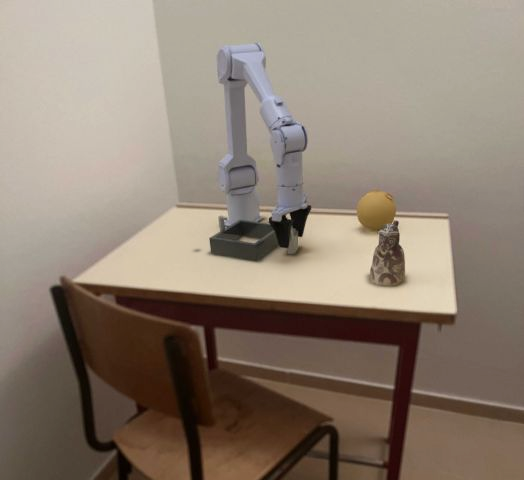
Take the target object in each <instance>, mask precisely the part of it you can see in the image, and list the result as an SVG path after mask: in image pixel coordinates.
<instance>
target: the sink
mask: <svg viewBox="0 0 524 480" xmlns="http://www.w3.org/2000/svg"><path fill="white" fill-rule="evenodd" d="M217 218H218V228H219V229H218V230H219V232H217V233H215V234H213V235H212V236H211V237H209V238H208V239H209V248H210V249H209V250H210V254H213V255H216V256H224V257H230V258H234V259H242V260H248V261H253V262H258V261H259V260H260V259H262V258H263V257H265V256H266V255H267V254H269V253H270V252H271V251H273V250H274V249H275V248H277V247H279V244H278V240H277V237H276V234H275V232H274V230H273V228H272V226H271V225H270V223H269V222H261V221H258V222H254V221H246V220H239V221H237V222H235V223H233V224H232V225H230V226H225V224H224V222H225V221H228V216H224V215H218V217H217ZM241 237H247V238H254V239H258V240H257V241H255V242H249V241H243V240H238V239H240V238H241Z"/></svg>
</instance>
